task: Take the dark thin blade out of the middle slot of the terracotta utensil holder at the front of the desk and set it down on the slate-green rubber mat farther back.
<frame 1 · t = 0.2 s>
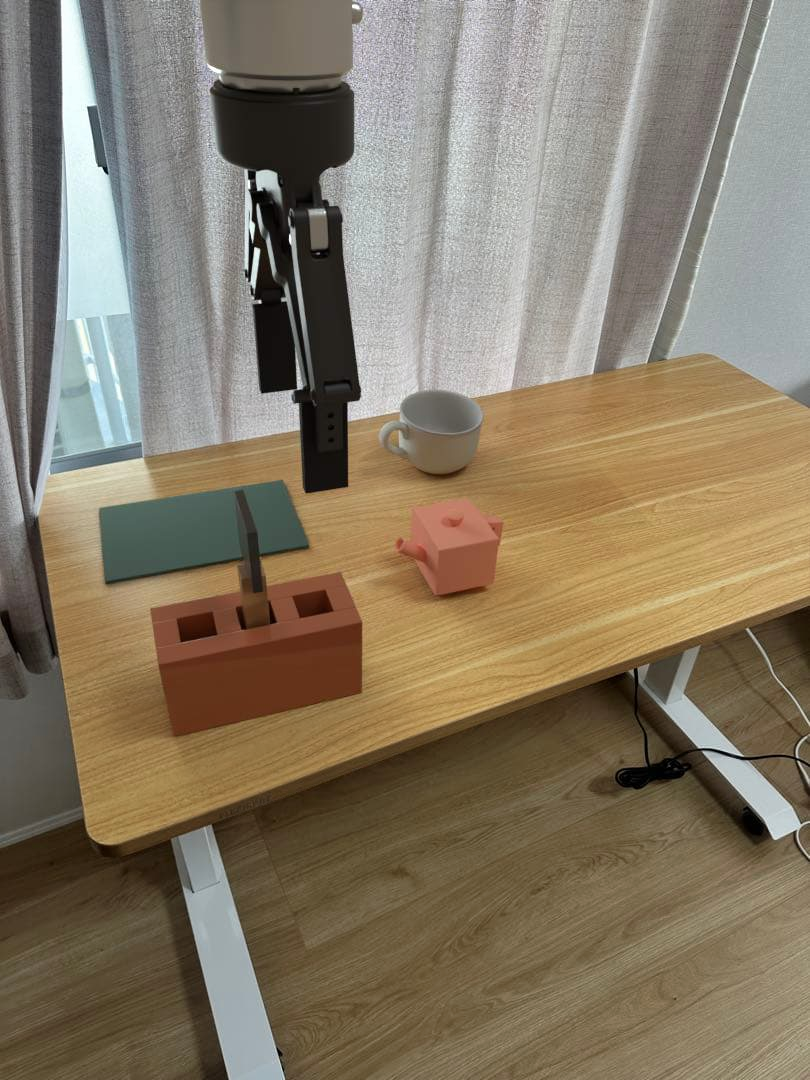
hand: (299, 434, 55), 29 cm above the table, tool pointing down, fingers open, 13 cm apart
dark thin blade: (255, 606, 68), in the holder
pink cube teapot: (444, 576, 88), on the table
teacup: (426, 465, 106), on the table
holder: (263, 686, 75), on the table
mat: (202, 528, 93), on the table
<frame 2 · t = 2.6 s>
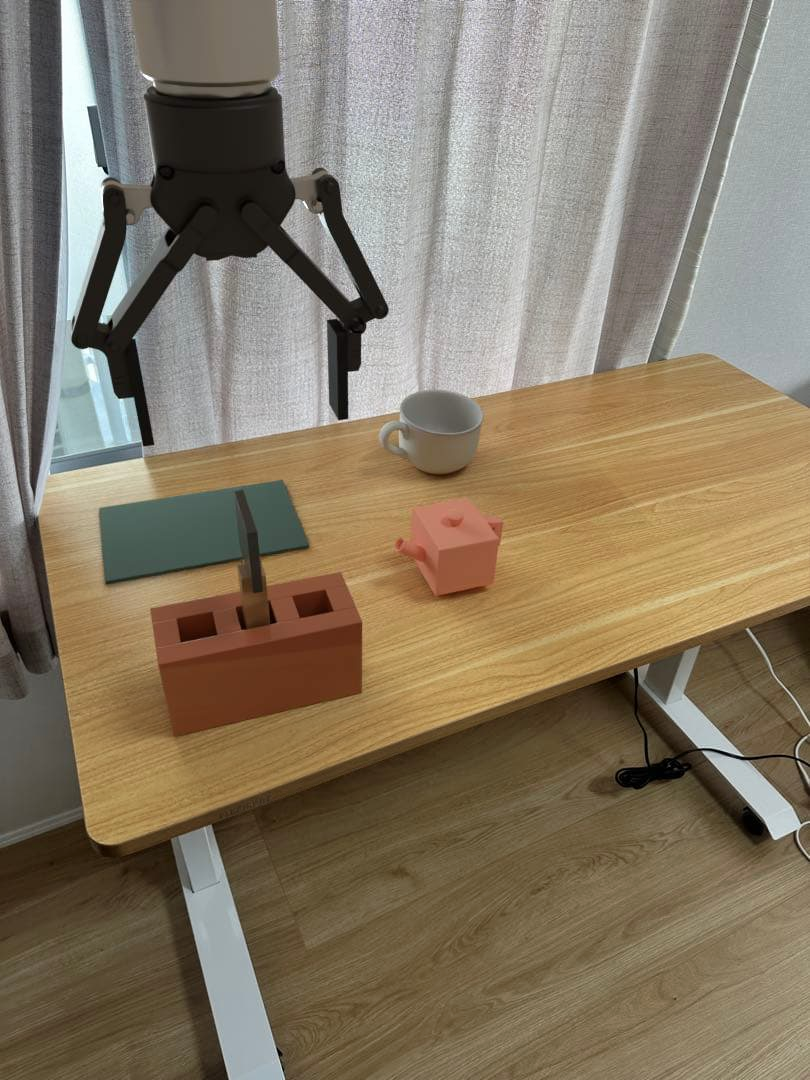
hand: (246, 423, 57), 28 cm above the table, tool pointing down, fingers open, 13 cm apart
nothing on the table moved.
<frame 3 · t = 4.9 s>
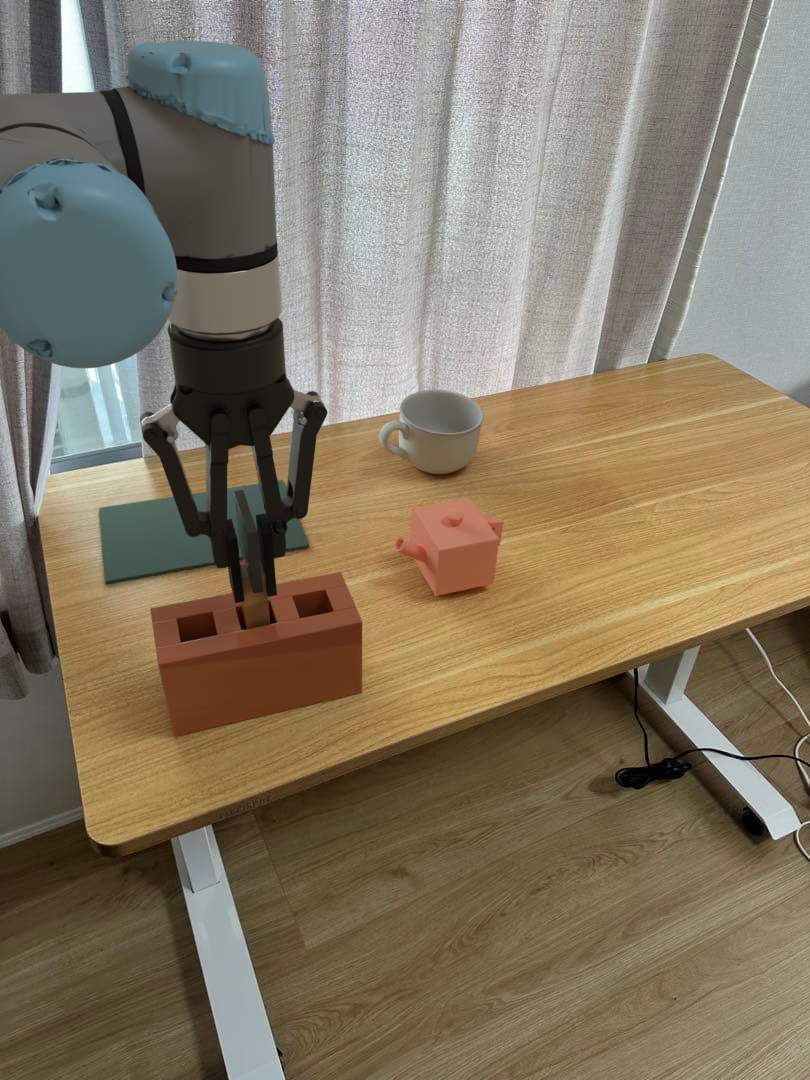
hand: (253, 588, 67), 12 cm above the table, tool pointing down, fingers closed on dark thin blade, 2 cm apart
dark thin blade: (255, 606, 68), in the holder, touching gripper
everything else where it was.
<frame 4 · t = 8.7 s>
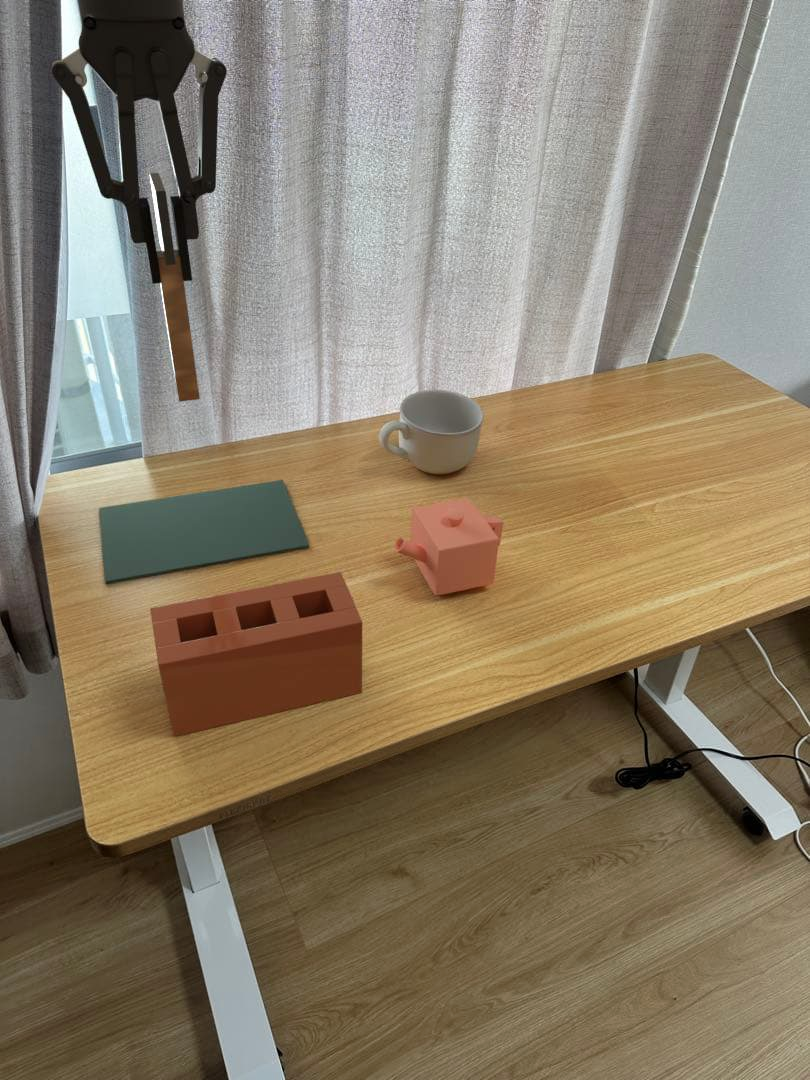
hand: (171, 276, 73), 31 cm above the table, tool pointing down, fingers closed on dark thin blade, 2 cm apart
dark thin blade: (174, 297, 74), point 29 cm above the table, touching gripper
everything else where it was.
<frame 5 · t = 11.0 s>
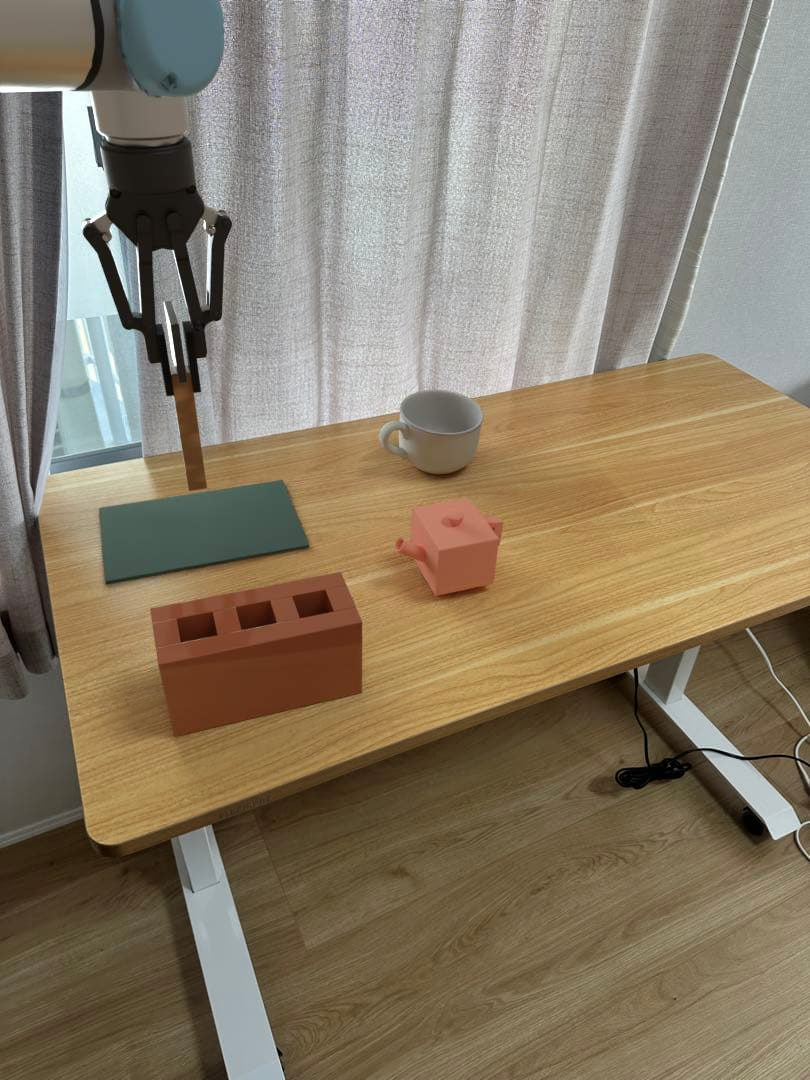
hand: (182, 387, 82), 18 cm above the table, tool pointing down, fingers closed on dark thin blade, 2 cm apart
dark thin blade: (184, 405, 84), point 16 cm above the table, touching gripper
everything else where it was.
when the fingers open (12 cm above the table, at t = 12.4 s): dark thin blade stays where it is, resting on mat.
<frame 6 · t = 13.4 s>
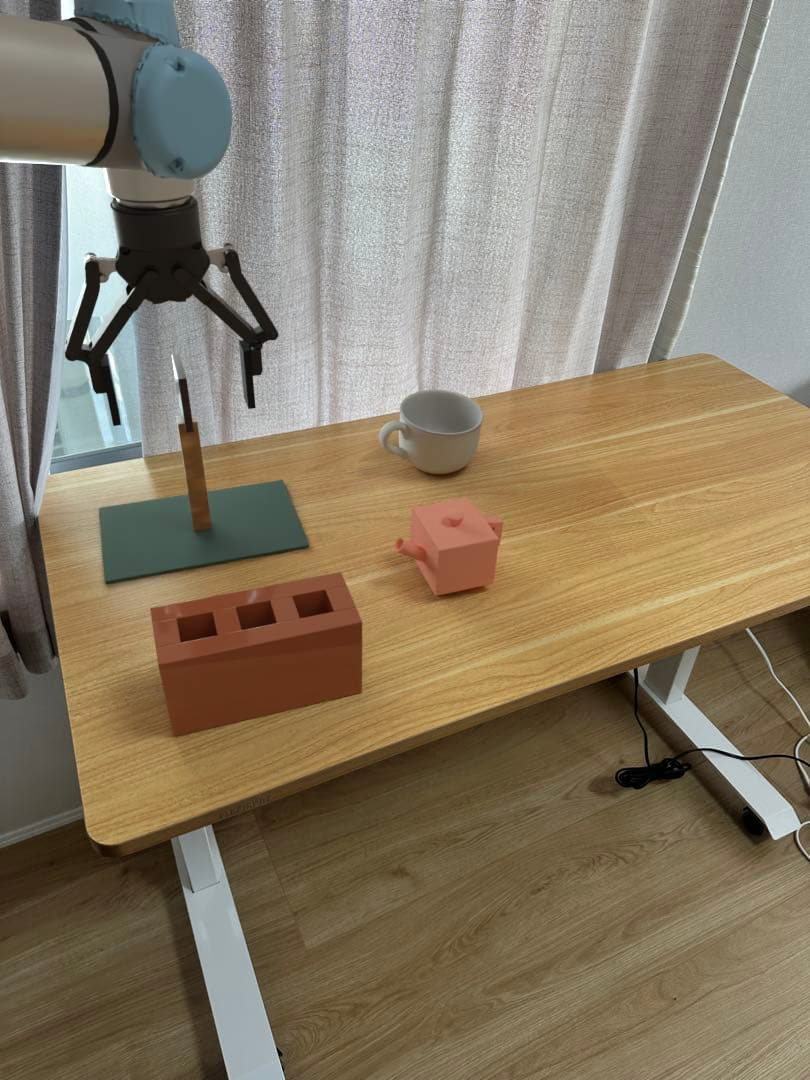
hand: (184, 411, 84), 15 cm above the table, tool pointing down, fingers open, 13 cm apart
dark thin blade: (191, 451, 87), on the mat
everything else where it was.
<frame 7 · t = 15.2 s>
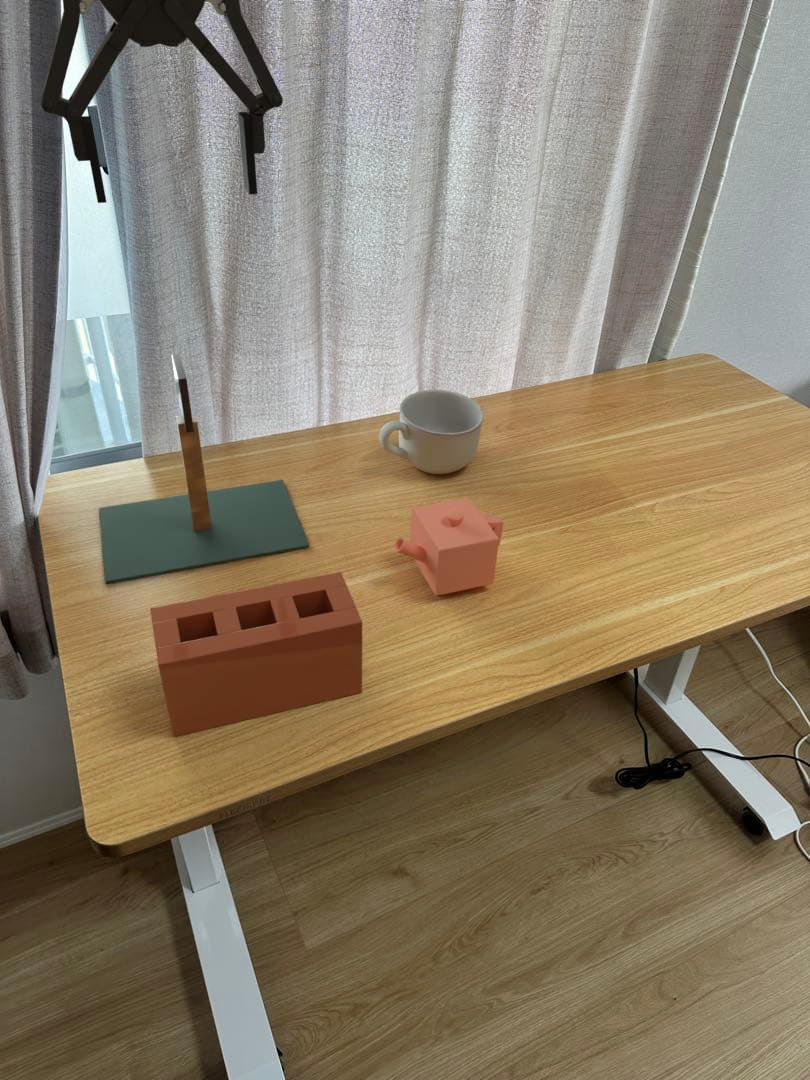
hand: (178, 195, 75), 36 cm above the table, tool pointing down, fingers open, 13 cm apart
nothing on the table moved.
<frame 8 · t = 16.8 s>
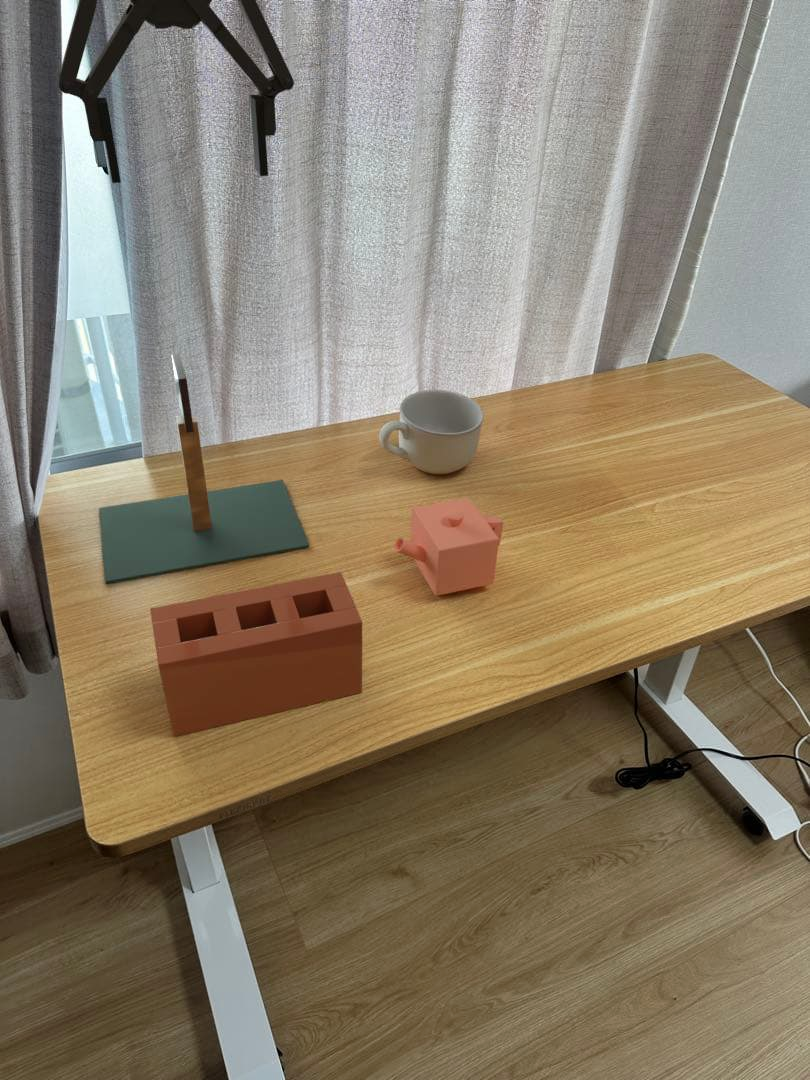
hand: (190, 176, 77), 37 cm above the table, tool pointing down, fingers open, 13 cm apart
nothing on the table moved.
at the end: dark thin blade inside the target area on the mat (0.0 cm from its centre), point 10.4 cm above the mat's base; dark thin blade moved 26.1 cm from its start; the gripper is holding nothing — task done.
